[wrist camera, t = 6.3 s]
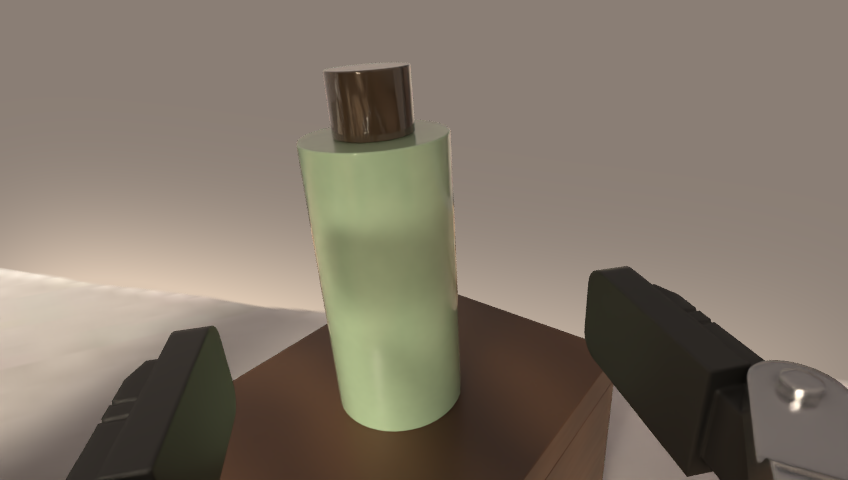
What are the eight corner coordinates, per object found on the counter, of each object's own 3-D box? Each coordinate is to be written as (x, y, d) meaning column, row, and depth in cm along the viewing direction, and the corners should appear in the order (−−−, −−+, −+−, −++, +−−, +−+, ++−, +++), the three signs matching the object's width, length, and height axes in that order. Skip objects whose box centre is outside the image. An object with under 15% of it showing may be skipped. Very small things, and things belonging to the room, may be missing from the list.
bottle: (405, 454, 16) (364, 77, 11) (314, 395, 19) (251, 75, 14) (485, 376, 20) (479, 58, 15) (397, 336, 22) (368, 59, 18)
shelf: (416, 832, 15) (388, 665, 11) (214, 577, 22) (156, 426, 18) (600, 498, 24) (618, 350, 20) (417, 398, 31) (405, 275, 28)
